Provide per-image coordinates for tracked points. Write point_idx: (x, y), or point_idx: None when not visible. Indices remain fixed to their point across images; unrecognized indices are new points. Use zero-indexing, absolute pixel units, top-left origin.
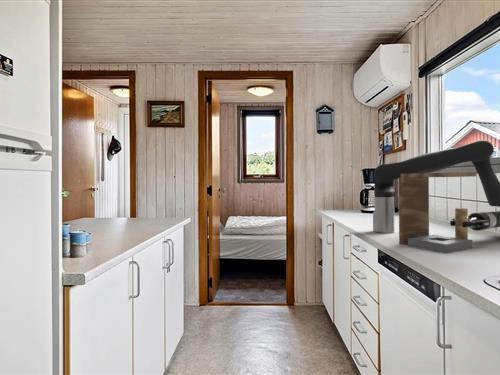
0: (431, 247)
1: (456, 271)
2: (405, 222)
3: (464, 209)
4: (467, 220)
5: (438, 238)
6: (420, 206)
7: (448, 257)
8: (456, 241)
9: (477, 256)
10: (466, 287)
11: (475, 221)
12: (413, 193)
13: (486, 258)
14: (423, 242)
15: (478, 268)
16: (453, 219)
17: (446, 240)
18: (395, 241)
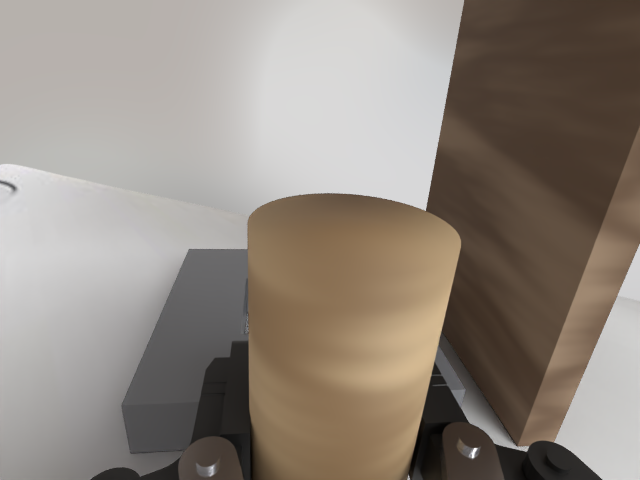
0: None
1: (80, 197)
2: (436, 194)
3: (260, 211)
4: (251, 414)
5: None
6: (535, 133)
7: (149, 249)
8: (188, 306)
9: (53, 303)
10: (43, 171)
11: (123, 471)
12: (513, 12)
13: (9, 298)
14: None
15: (32, 222)
16: (531, 447)
17: (243, 297)
18: None
